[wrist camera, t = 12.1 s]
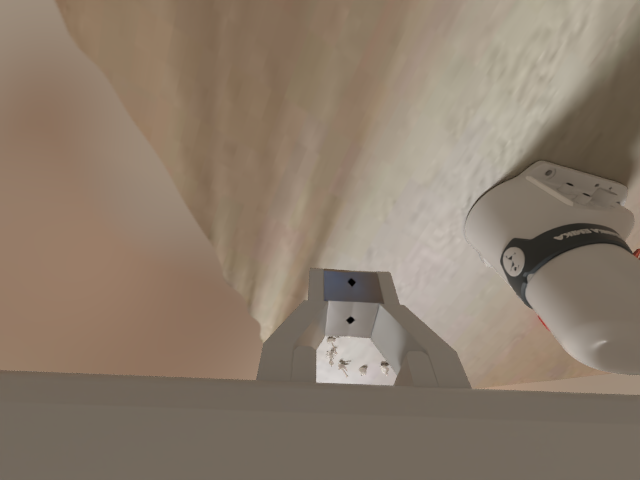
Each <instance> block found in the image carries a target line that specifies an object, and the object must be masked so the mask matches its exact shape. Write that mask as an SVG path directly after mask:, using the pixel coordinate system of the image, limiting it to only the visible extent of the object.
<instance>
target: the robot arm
mask: <svg viewBox="0 0 640 480" xmlns="http://www.w3.org/2000/svg"><path fill="white" fill-rule="evenodd" d="M547 171H548V172H547ZM546 172H547V173H546ZM545 173H546V174H545ZM627 192H628V189H627V187H626V186H624V185H623V184H621V183H618V182H615V181H612V180H608V179H605V178H602V177H598V176H595V175H591V174H588V173H585V172H581V171H578V170H574V169H571V168H567V167H564V166H561V165H557V164H554V163H550V162H547V161H538V162H536V163H534V164H532V165H531V166H530V167H528V168H527V169H526V170H525V171H523V172H522V173H521V174H520V175H518V176H517V177H515V178H513V179H511V180H508V181H506V182H504V183H502V184H500V185H498V186H496V187H495V188H493V189H491V190H490V191H489V192H487V193H486V194H485V195H484V196H483V197H482V198H481V199H480V200H479V201H478V202H477V203H476V204H475V205H474V207H473V208H472V210H471V211H470V213H469V215H468V217H467V220H466V224H465V236H466V239H467V241H468V243H469V244H470V245H471V246H472V247H473V248H474V249H475V250H476V251H478V252H479V253H480V256H481V259H482V261H483V263H484V264H485V265H486V266H487V267H492V268H493V269H494V270H495V271H496V272H497V273H498V274H499V275H500V276H501V277H502V278H503V279H504V280H505V281H506V282H507V283H508V284H509V285H510V286H511V287H512V288H513V290H514V291H515V292H516V295H517V296H518V297H519V298H520V299H521V300H522V301H523V302H524V303H525V304H526V305H527V306H528V307H529V308H531V309H533V310H534V311H535V312H536V313H537V314H538V316H539V317H540V318H541V320H542V321H543V322H544V324H545V325H546V326H547V327H548V329H549V330H550V331H551V333H552V334H553V335H554V337H555V338H556V339H557V340H558V342H559V343H560V344H561V346H562V347H563V348H564V350H565V351H566V352H567V353H569V354H570V355H571V356H572V357H573V358H575V359H576V360H578V361H579V362H581V363H583V364H585V365H587V366H590V367H592V368H595V369H598V370H602V371H606V372H611V373H618V374H627V375H640V258H639V259H638V256H639V254H640V249H637V250H636V251H635V252H634V253H632V251H631V249H630V248H629V247H628V245H627V244H626V242H625V241H626V239H627V238H628V236H629V235H630V233H631V231H632V229H633V226H634V220H635V219H634V215H633V213H632V212H631V211H629V210H628V209H626V208H625V207H623V206H624V204H625V201H626V198H627ZM325 336H348V337H362V338H371V341H372V342H373V343H374V345H375V346H376V347H377V349H378V350H379V351H380V353H381V354H382V355H383V357H384V358H385V360H386V361H387V362H388V364H389V365H390V366H391V368H392V369H393V370H394V372H395V373H396V374H397V378H396V380H395V383H394V385H393V386H389V385H363V384H337V383H316V350H317V348H318V347H319V345H320V343H321V342H322V340H323V339H324V337H325ZM0 480H640V395H621V394H596V393H570V392H544V391H542V392H541V391H518V390H492V389H472V388H471V385H470V383H469V381H468V378H467V376H466V373H465V371H464V369H463V366H462V364H461V362H460V359H459V357H458V355H457V352H456V351H455V350H454V349H452V348H451V347H450V346H449V345H448V344H447V343H446V342H445V341H443V340H442V339H441V338H440V337H439V336H438V335H437V334H436V333H435V332H433V331H432V330H431V329H430V328H429V327H428V326H427V325H426V324H425V323H423V322H422V321H421V320H420V319H419V318H418V317H417V316H416V315H414V314H413V313H412V312H411V311H410V310H409V309H408V308H407V307H406V306H404V305H400V303H399V300H398V297H397V293H396V290H395V286H394V283H393V280H392V276H391V273H390V272H371V271H349V270H335V269H324V270H323V269H318V268H310V271H309V289H308V300H304V301H303V302H302V303H301V304H300V305H299V306H298V307H297V308H296V309H295V310H294V311H293V312H292V313H291V315H290V316H289V317H288V318H287V319H286V320H285V321H284V322H283V323H282V324H281V325H280V326H279V327H278V328H277V329H276V331H275V332H274V333H273V334H272V335H271V336H270V337H269V338H268V339H267V340H266V341H265V342H264V343H263V348H262V353H261V358H260V363H259V369H258V374H257V379H256V380H236V379H235V380H234V379H210V378H186V377H185V378H184V377H160V376H159V377H158V376H134V375H133V376H132V375H108V374H83V373H56V372H32V371H7V370H0Z"/></svg>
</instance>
